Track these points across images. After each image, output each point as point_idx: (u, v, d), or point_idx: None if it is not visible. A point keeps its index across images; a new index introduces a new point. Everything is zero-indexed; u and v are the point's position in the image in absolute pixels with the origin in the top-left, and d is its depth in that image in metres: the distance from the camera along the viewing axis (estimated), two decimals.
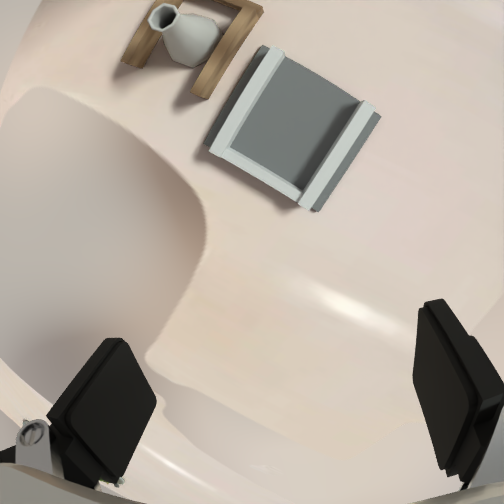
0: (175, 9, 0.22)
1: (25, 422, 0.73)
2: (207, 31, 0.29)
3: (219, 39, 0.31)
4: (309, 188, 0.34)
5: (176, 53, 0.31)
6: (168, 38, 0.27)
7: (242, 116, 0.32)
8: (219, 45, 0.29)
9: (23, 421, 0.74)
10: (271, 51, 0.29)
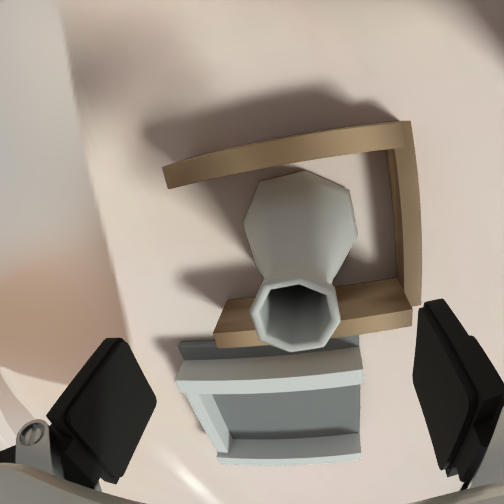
0: (330, 331, 0.11)
1: None
2: None
3: None
4: (237, 459, 0.26)
5: (253, 250, 0.18)
6: None
7: (243, 392, 0.22)
8: None
9: None
10: (352, 373, 0.20)
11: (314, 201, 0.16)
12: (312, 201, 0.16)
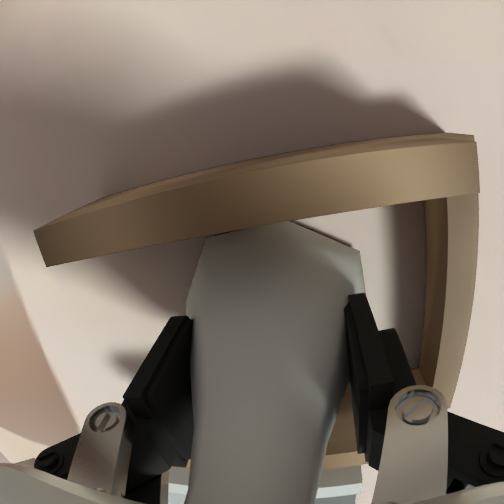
0: None
1: None
2: None
3: None
4: None
5: None
6: (198, 433, 0.07)
7: None
8: None
9: None
10: (348, 487, 0.12)
11: (297, 289, 0.09)
12: (293, 292, 0.09)
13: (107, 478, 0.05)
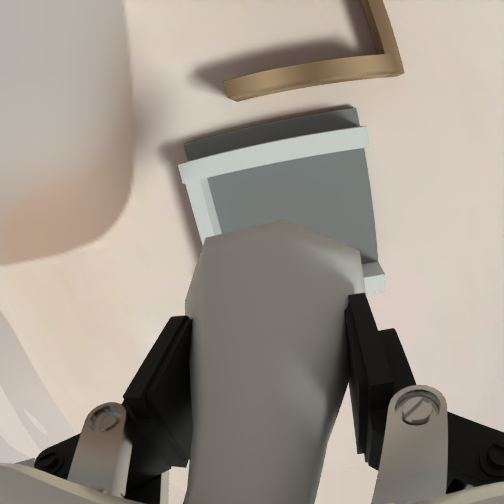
0: None
1: None
2: None
3: None
4: None
5: None
6: (197, 433, 0.07)
7: (249, 166, 0.22)
8: (313, 64, 0.18)
9: None
10: (357, 131, 0.20)
11: (297, 289, 0.09)
12: (293, 291, 0.09)
13: (107, 478, 0.05)
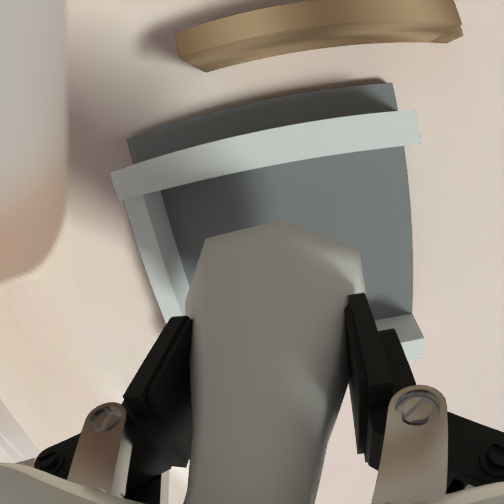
0: None
1: None
2: None
3: None
4: None
5: None
6: None
7: (218, 173, 0.13)
8: (327, 2, 0.09)
9: None
10: (401, 117, 0.11)
11: (297, 290, 0.09)
12: (293, 292, 0.09)
13: (107, 478, 0.05)
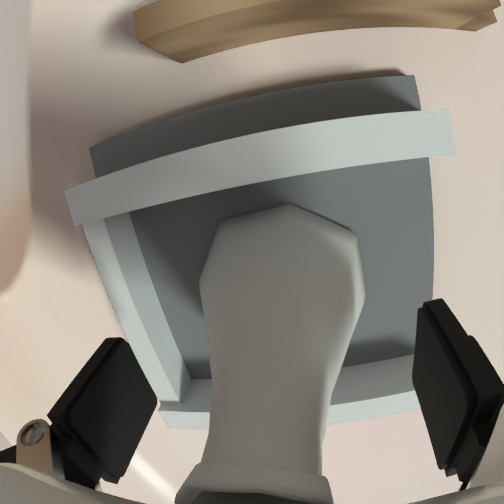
0: None
1: None
2: None
3: None
4: (197, 414, 0.14)
5: None
6: None
7: (191, 192, 0.10)
8: None
9: None
10: (432, 119, 0.08)
11: (303, 261, 0.10)
12: (299, 263, 0.10)
13: None
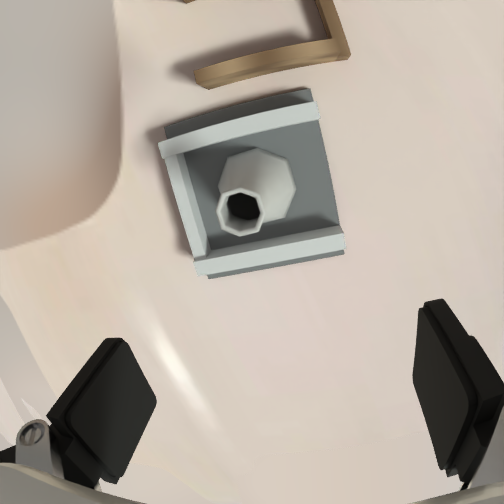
0: (261, 220, 0.20)
1: None
2: (273, 216, 0.26)
3: (277, 219, 0.29)
4: (215, 259, 0.29)
5: None
6: (227, 202, 0.24)
7: (217, 140, 0.26)
8: (266, 52, 0.22)
9: None
10: (308, 106, 0.24)
11: (260, 163, 0.25)
12: (259, 163, 0.25)
13: None
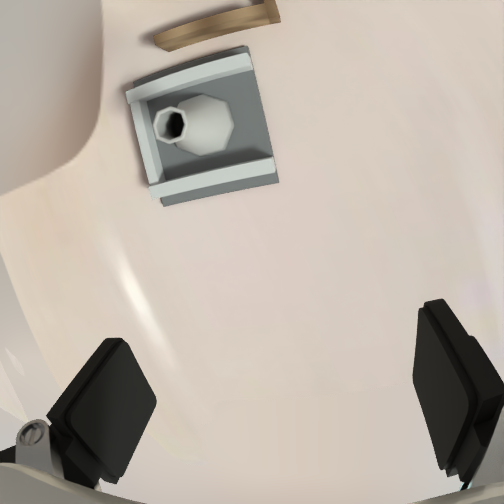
0: (184, 130, 0.24)
1: None
2: (209, 143, 0.31)
3: (218, 150, 0.33)
4: (165, 183, 0.34)
5: (172, 132, 0.31)
6: (169, 127, 0.28)
7: (169, 87, 0.30)
8: (208, 18, 0.26)
9: None
10: (240, 56, 0.28)
11: (201, 102, 0.30)
12: (199, 102, 0.29)
13: None
